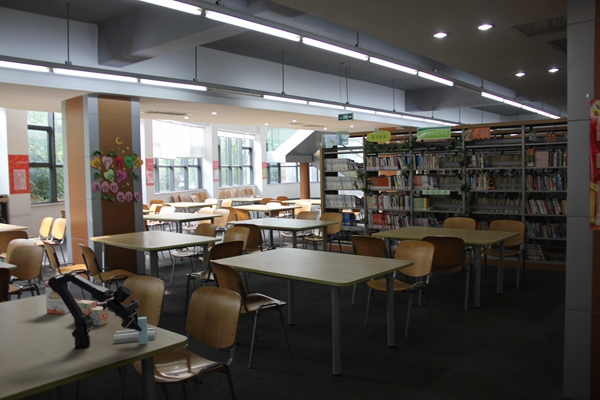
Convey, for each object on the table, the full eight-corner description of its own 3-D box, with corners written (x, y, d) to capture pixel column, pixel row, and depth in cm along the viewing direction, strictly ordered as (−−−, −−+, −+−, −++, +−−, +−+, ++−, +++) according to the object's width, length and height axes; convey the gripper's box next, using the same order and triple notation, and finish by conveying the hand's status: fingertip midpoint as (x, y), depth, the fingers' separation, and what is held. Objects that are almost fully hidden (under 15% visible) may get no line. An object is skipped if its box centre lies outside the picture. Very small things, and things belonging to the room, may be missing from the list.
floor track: (113, 343, 250) (113, 337, 250) (117, 336, 262) (116, 330, 262) (154, 339, 254) (153, 332, 254) (156, 332, 266) (155, 326, 266)
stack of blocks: (108, 323, 289) (107, 302, 288) (99, 326, 283) (98, 304, 283) (84, 319, 299) (82, 299, 298) (75, 322, 293) (73, 301, 293)
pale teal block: (139, 344, 247) (137, 319, 247) (139, 342, 250) (138, 317, 250) (148, 343, 248) (147, 318, 248) (149, 341, 251) (148, 316, 251)
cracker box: (46, 313, 315) (44, 281, 314) (53, 311, 321) (51, 279, 320) (64, 314, 311) (62, 282, 310) (71, 312, 317) (69, 279, 316)
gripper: (126, 300, 238) (151, 320, 241) (131, 292, 256) (154, 310, 259) (110, 318, 237) (136, 338, 239) (116, 308, 255) (140, 327, 258)
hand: (142, 327), depth 249 cm, fingers open, 9 cm apart
